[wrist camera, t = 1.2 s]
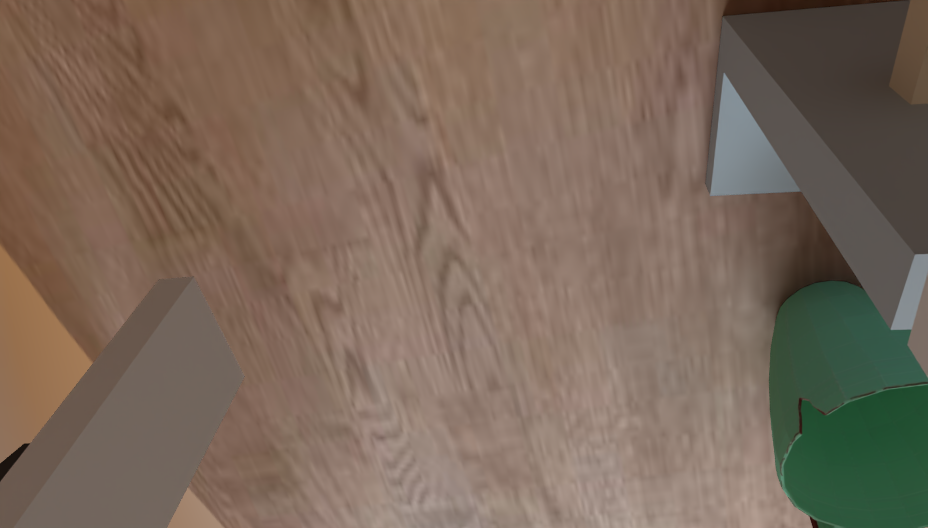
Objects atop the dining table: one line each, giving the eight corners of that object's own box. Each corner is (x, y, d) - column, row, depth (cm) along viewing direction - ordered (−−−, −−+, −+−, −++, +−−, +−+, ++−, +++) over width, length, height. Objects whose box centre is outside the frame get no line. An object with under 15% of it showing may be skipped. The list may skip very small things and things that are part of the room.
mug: (737, 246, 34) (796, 385, 26) (945, 234, 33) (1076, 378, 25) (716, 437, 43) (756, 588, 35) (882, 434, 41) (965, 592, 33)
